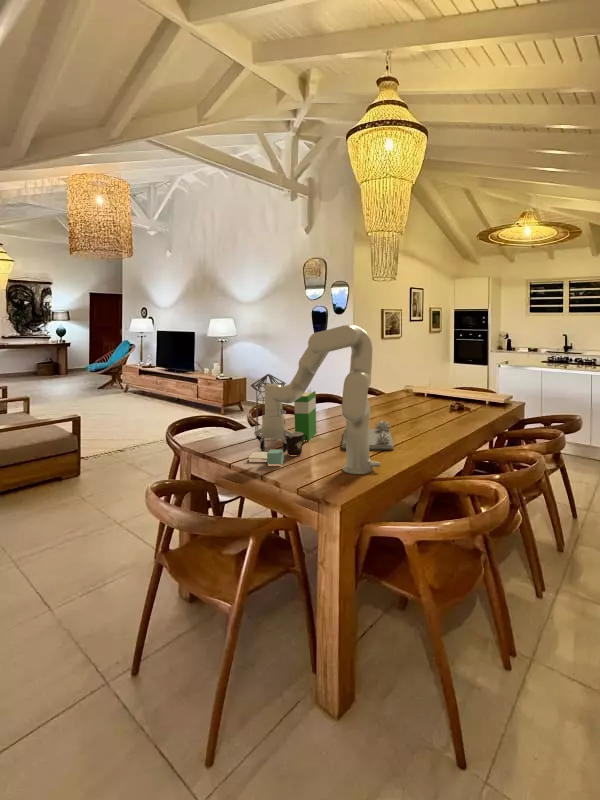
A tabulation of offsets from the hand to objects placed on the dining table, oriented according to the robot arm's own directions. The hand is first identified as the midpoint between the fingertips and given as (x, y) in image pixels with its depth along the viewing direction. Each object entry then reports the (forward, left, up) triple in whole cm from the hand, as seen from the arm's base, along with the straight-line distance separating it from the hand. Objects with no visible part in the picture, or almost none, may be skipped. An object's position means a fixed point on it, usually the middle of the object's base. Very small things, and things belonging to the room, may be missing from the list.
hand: (273, 451), depth 199 cm
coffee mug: (-8, -16, -6) cm, 19 cm away
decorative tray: (-40, -43, -7) cm, 59 cm away
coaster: (+7, -7, -6) cm, 12 cm away
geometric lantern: (+12, -45, -6) cm, 47 cm away
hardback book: (-7, -48, -6) cm, 49 cm away
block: (-1, 0, -6) cm, 6 cm away
